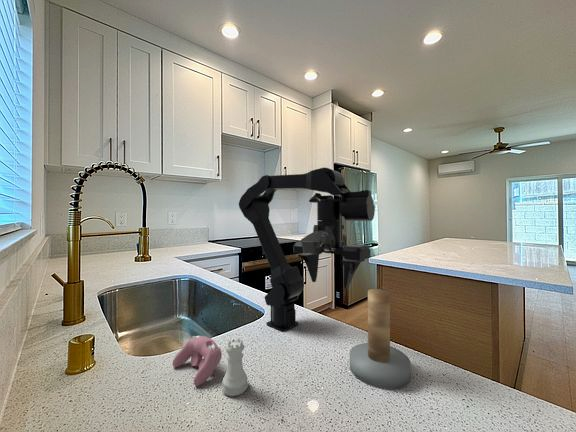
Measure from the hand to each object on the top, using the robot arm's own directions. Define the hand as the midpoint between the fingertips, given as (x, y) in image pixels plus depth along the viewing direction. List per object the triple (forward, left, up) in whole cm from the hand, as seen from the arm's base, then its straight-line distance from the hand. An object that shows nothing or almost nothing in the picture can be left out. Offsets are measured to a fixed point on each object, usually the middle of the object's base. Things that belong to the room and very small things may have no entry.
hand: (329, 285), depth 61 cm
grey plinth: (+14, -4, -13) cm, 20 cm away
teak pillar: (+14, -4, -10) cm, 18 cm away
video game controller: (-12, -28, -13) cm, 33 cm away
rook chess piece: (-2, -26, -13) cm, 29 cm away
